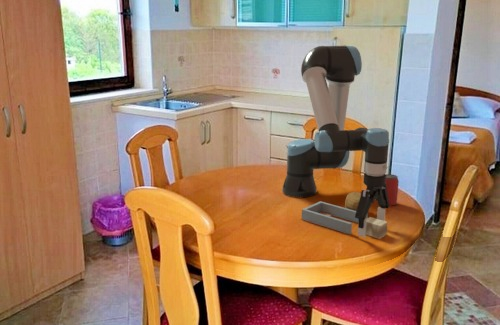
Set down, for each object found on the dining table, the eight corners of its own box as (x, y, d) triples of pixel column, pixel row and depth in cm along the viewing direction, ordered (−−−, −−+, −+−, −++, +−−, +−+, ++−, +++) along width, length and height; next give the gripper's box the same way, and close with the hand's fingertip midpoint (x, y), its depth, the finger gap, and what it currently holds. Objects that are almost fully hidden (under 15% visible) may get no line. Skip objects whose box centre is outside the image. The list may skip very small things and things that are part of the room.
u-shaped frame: (301, 219, 190) (301, 209, 189) (320, 210, 199) (320, 201, 198) (349, 234, 176) (350, 224, 175) (367, 224, 185) (367, 214, 184)
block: (362, 220, 176) (380, 226, 172) (369, 216, 180) (387, 221, 175) (362, 233, 177) (379, 239, 173) (368, 229, 181) (386, 234, 177)
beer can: (397, 206, 203) (399, 179, 200) (380, 205, 204) (382, 178, 201) (396, 201, 209) (398, 174, 206) (379, 200, 211) (382, 173, 207)
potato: (363, 206, 203) (364, 188, 201) (374, 219, 190) (375, 200, 188) (339, 207, 203) (340, 188, 200) (349, 220, 189) (350, 200, 187)
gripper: (366, 183, 160) (362, 244, 166) (401, 168, 178) (397, 222, 184) (346, 179, 165) (343, 237, 171) (382, 164, 183) (378, 217, 189)
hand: (371, 230), depth 177 cm, fingers open, 13 cm apart
